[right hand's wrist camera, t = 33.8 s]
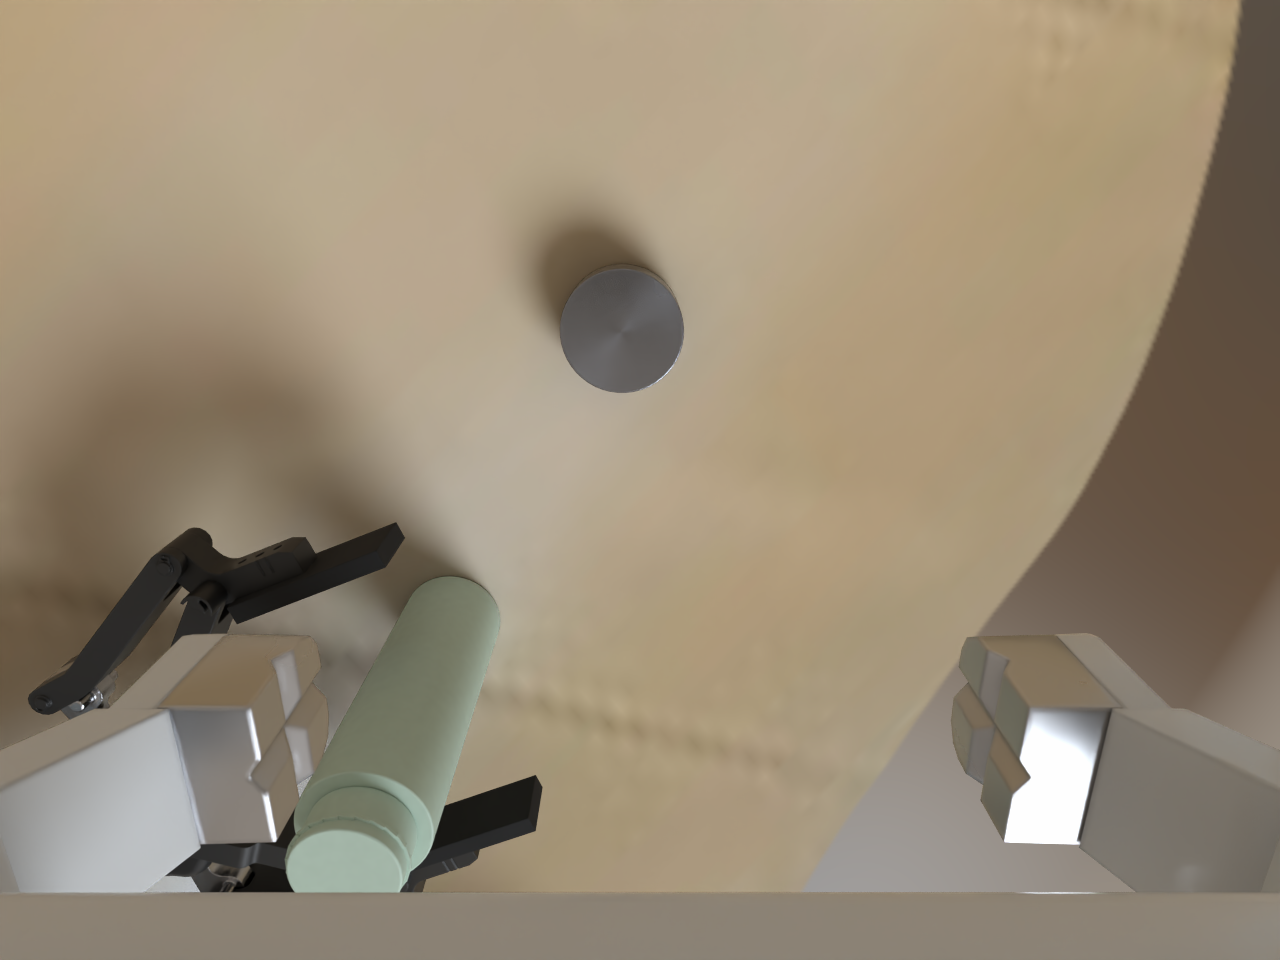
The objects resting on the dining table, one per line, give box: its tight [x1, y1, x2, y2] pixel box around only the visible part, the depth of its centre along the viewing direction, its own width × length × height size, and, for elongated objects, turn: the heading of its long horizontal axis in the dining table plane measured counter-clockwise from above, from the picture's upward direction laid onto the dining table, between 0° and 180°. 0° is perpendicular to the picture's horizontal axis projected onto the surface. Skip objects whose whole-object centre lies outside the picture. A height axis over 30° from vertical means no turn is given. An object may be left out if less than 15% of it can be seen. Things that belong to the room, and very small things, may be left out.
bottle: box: [285, 576, 500, 892], centre depth 33 cm, size 5×5×16 cm
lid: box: [560, 264, 684, 393], centre depth 34 cm, size 5×5×2 cm
